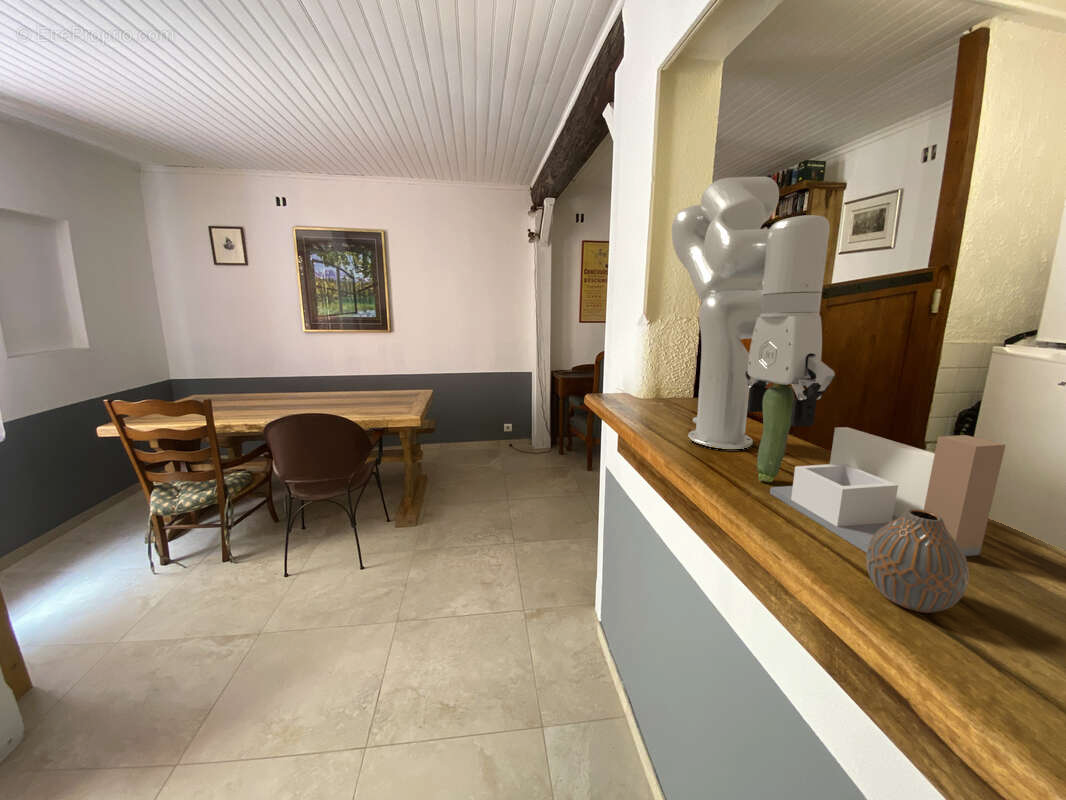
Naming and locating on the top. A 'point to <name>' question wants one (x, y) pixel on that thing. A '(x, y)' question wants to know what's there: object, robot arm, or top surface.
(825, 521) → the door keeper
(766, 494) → the top surface
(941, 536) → the vase
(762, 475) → the vegetable
